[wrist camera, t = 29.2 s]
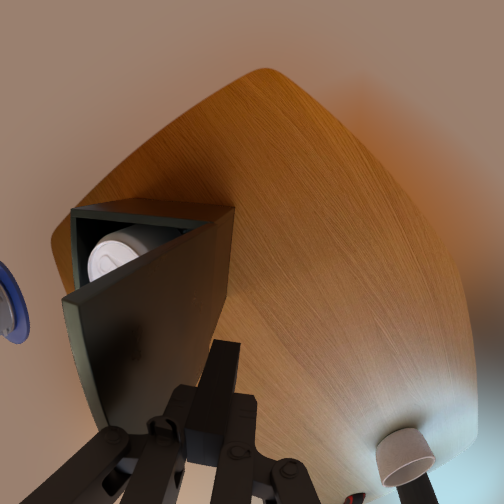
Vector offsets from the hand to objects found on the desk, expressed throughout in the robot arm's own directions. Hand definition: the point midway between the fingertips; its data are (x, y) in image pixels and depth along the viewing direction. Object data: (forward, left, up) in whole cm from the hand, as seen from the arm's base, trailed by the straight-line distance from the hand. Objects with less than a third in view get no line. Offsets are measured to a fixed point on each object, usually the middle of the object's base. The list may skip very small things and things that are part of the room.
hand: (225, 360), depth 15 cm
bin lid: (-4, 0, 0) cm, 4 cm away
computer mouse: (+41, -75, -23) cm, 88 cm away
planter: (+38, -39, -23) cm, 59 cm away
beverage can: (-12, 0, -22) cm, 25 cm away
